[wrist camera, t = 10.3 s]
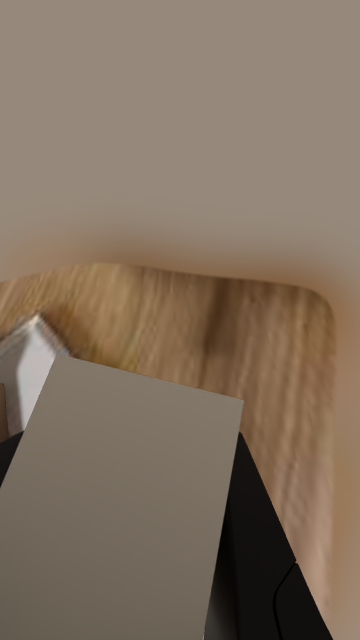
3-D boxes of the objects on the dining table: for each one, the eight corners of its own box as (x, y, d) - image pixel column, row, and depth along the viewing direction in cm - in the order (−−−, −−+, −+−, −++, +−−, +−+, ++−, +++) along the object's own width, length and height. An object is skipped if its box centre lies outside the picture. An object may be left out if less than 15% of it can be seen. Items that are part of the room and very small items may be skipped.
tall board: (202, 524, 12) (185, 737, 3) (124, 498, 13) (-58, 624, 4) (221, 425, 14) (244, 399, 5) (150, 406, 14) (56, 353, 5)
